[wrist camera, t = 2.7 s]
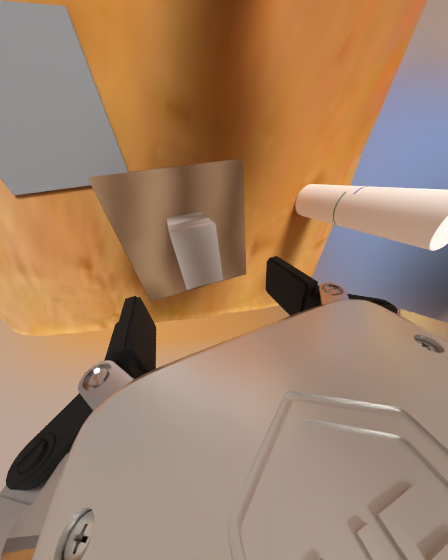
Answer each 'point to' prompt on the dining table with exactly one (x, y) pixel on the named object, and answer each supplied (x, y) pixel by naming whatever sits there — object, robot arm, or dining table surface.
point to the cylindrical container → (381, 211)
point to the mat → (49, 104)
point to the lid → (178, 223)
